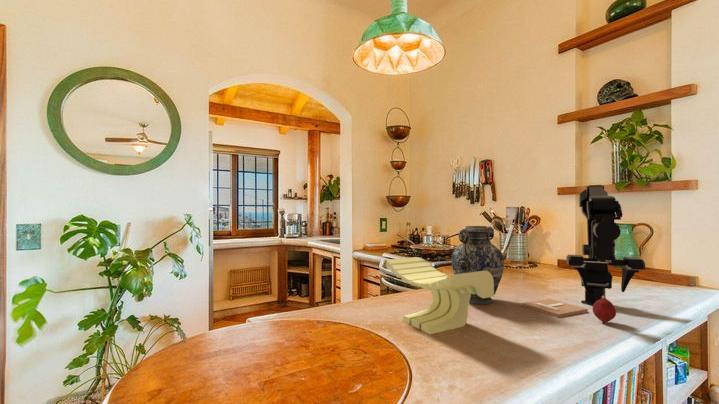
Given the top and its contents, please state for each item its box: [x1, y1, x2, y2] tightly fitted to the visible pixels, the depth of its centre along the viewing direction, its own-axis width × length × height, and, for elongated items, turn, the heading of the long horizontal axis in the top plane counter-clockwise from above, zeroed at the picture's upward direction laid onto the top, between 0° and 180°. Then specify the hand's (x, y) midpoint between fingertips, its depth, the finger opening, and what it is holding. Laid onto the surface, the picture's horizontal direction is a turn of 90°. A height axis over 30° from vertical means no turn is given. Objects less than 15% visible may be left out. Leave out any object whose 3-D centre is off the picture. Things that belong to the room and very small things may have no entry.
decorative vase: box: [451, 225, 505, 305], centre depth 128 cm, size 21×19×28 cm
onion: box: [592, 295, 617, 324], centre depth 103 cm, size 6×6×8 cm
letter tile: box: [521, 298, 588, 318], centre depth 117 cm, size 14×14×1 cm
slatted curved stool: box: [386, 256, 495, 335], centre depth 104 cm, size 30×16×18 cm, turn 29°
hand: (603, 290), depth 103 cm, fingers open, 9 cm apart
